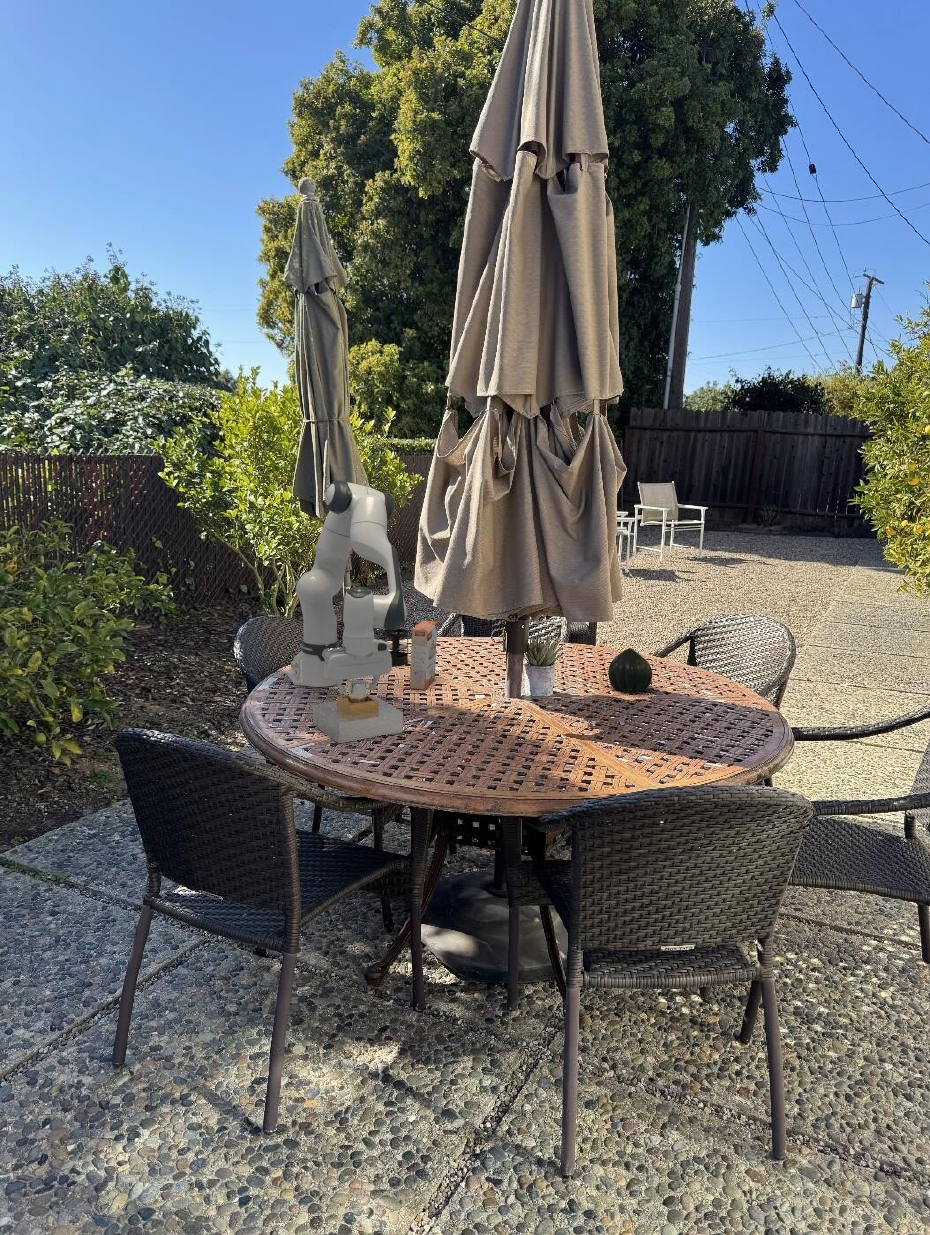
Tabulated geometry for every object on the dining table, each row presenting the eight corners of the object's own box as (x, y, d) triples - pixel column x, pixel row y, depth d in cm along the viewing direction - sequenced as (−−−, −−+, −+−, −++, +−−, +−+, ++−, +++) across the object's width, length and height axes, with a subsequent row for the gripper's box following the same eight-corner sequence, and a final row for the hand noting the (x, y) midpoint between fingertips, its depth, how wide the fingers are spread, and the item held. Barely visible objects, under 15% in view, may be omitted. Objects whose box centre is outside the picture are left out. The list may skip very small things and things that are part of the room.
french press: (411, 659, 325) (412, 600, 320) (408, 666, 316) (410, 605, 311) (379, 658, 325) (381, 598, 320) (376, 665, 316) (377, 603, 311)
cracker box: (426, 691, 288) (428, 630, 284) (409, 689, 289) (410, 628, 285) (436, 679, 302) (438, 621, 297) (419, 677, 303) (421, 619, 298)
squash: (636, 685, 286) (650, 646, 291) (595, 677, 295) (611, 640, 300) (648, 705, 296) (662, 667, 302) (609, 697, 305) (623, 661, 310)
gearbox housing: (312, 724, 253) (312, 694, 251) (373, 713, 264) (374, 685, 262) (338, 744, 238) (339, 712, 236) (402, 732, 249) (403, 702, 247)
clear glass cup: (345, 707, 250) (346, 680, 249) (361, 704, 253) (361, 678, 251) (353, 712, 246) (353, 685, 244) (369, 709, 249) (369, 683, 247)
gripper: (329, 651, 237) (329, 699, 240) (395, 644, 248) (393, 690, 251) (319, 646, 242) (319, 693, 246) (384, 639, 253) (383, 684, 257)
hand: (357, 691), depth 249 cm, fingers open, 8 cm apart
